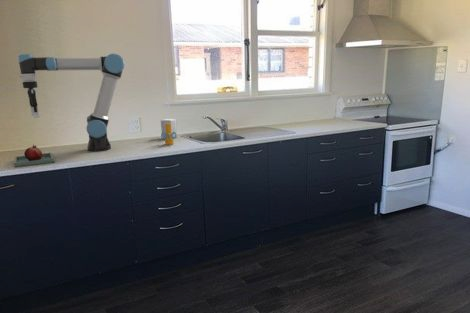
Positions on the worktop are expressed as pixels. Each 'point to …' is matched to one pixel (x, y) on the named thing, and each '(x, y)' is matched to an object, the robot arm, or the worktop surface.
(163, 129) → the supplement box
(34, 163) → the tray
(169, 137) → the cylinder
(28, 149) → the fruit
